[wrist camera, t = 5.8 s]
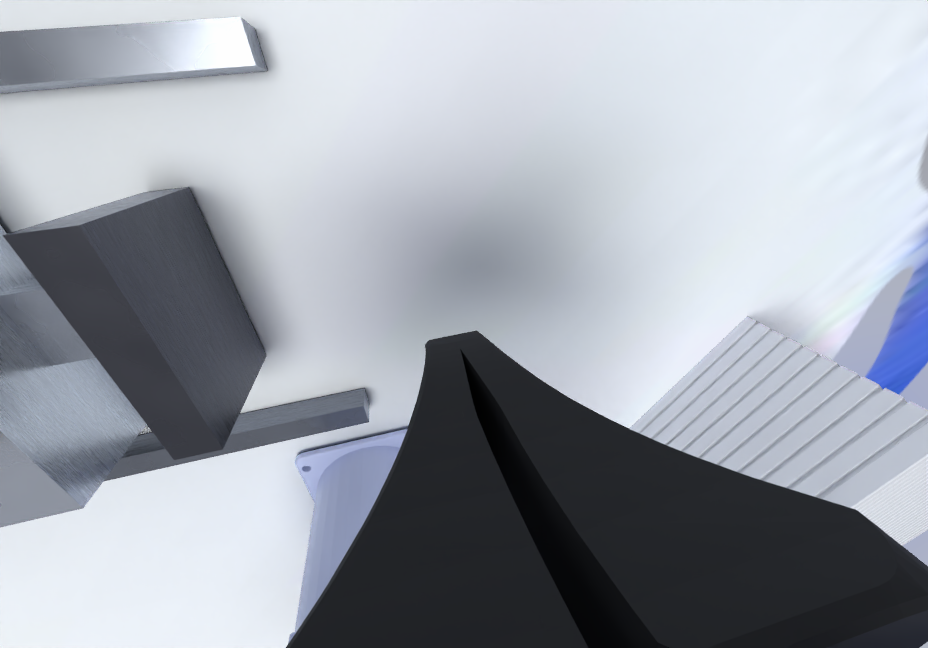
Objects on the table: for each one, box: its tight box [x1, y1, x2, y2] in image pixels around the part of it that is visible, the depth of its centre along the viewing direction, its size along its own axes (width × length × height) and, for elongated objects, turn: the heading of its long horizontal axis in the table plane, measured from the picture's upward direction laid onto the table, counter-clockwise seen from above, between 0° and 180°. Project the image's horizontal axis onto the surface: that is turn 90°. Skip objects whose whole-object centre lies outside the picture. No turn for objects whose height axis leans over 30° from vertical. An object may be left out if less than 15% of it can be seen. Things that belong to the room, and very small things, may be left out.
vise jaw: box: [0, 187, 266, 527], centre depth 13 cm, size 13×10×6 cm
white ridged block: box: [629, 316, 928, 546], centre depth 27 cm, size 32×11×11 cm, turn 144°
